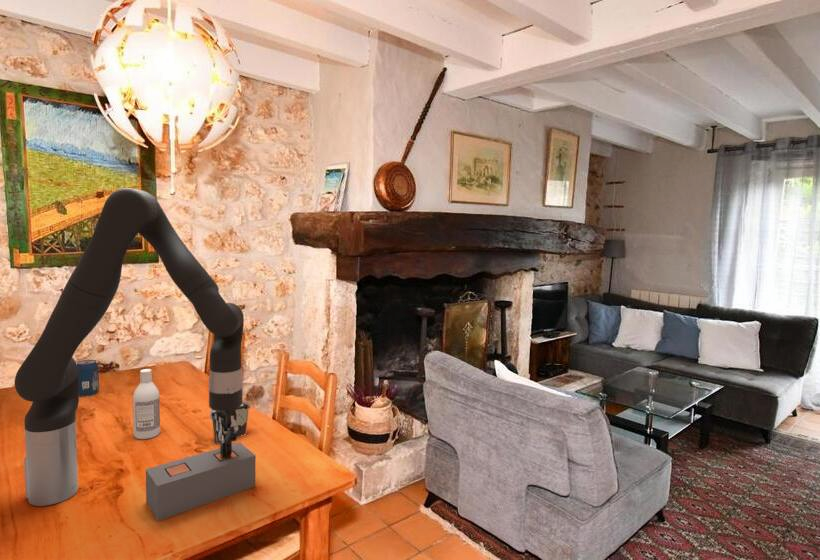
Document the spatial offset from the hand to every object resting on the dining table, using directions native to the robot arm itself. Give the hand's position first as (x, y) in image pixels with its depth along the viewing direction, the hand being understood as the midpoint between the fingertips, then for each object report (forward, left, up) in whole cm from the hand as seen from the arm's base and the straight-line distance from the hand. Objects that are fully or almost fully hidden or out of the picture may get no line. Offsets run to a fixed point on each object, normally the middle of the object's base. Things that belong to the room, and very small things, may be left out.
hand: (226, 455), depth 115 cm
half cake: (-18, +23, -8) cm, 30 cm away
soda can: (-86, +33, -8) cm, 92 cm away
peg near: (-6, -10, -8) cm, 14 cm away
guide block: (-3, -5, -8) cm, 10 cm away
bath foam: (-40, +15, -8) cm, 43 cm away
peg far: (0, 0, -8) cm, 8 cm away
